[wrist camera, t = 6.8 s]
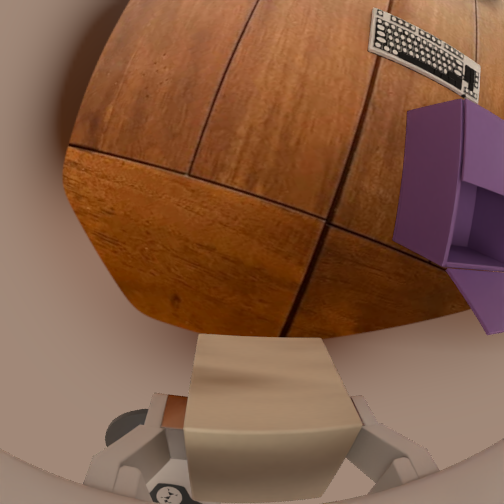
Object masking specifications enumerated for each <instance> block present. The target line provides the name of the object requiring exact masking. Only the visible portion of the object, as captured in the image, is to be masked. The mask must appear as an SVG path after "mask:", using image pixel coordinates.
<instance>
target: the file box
mask: <svg viewBox="0 0 504 504" xmlns="http://www.w3.org/2000/svg"><path fill="white" fill-rule="evenodd" d="M392 240H393V241H394V242H396V243H398V244H400V245H402V246H404V247H406V248H408V249H410V250H412V251H414V252H416V253H418V254H419V255H421V256H423V257H425V258H427V259H429V260H431V261H433V262H434V263H436V264H438V265H440V266H442V267H451V268H464V269H476V270H488V271H502V272H504V120H502V119H501V118H499V117H498V116H496V115H494V114H493V113H491V112H489V111H488V110H486V109H484V108H483V107H481V106H479V105H477V104H476V103H474V102H472V101H470V100H468V99H464V100H463V99H457V100H452V101H447V102H443V103H438V104H434V105H430V106H426V107H422V108H418V109H414V110H410V111H407V126H406V142H405V154H404V164H403V174H402V182H401V190H400V197H399V204H398V211H397V217H396V223H395V229H394V234H393V239H392Z"/></svg>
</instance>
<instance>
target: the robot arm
mask: <svg viewBox="0 0 504 504" xmlns="http://www.w3.org/2000/svg"><path fill="white" fill-rule="evenodd" d="M350 398H351V400H352V402H353V404H354V406H355V408H356V411H357V413H358V415H359V417H360V419H361V421H362V428H361V430H360V431H359V433H358V435H357V437H356V439H355V441H354V443H353V445H352V447H351V449H350V450H349V452H348V454H347V456H346V458H347V459H348V460H349V461H351V462H352V463H353V464H354V465H355V466H357V468H359V469H360V470H361V471H362V472H363V473H364V474H366V475H367V476H368V477H369V478H370V479H372V480H373V481H374V482H375V483H376V484H375V486H374V487H373V488H372V489H371V490H370V492H369V493H368V494H367V495H364V496H359V497H355V498H350V499H345V500H341V501H335V502H329V503H323V504H504V439H502V440H500V441H499V442H497V443H495V444H494V445H492V446H490V447H488V448H486V449H485V450H483V451H481V452H479V453H477V454H475V455H473V456H471V457H470V458H467V459H465V460H463V461H461V462H459V463H457V464H455V465H452V466H450V467H448V468H446V469H443V470H441V471H440V470H439V469H438V467H437V465H436V464H435V462H434V460H433V459H432V457H431V455H430V453H429V452H428V450H427V449H426V448H424V447H422V446H420V445H419V444H417V443H415V442H413V441H412V440H410V439H408V438H406V437H404V436H403V435H401V434H399V433H397V432H395V431H394V430H392V429H390V428H389V427H387V426H385V425H383V424H382V423H379V424H378V423H377V421H376V419H375V417H374V415H373V413H372V411H371V409H370V408H369V406H368V404H367V402H366V400H365V398H364V397H363V396H362V395H359V396H350ZM187 400H188V397H184V396H176V395H167V394H160V393H154V394H153V396H152V399H151V403H150V406H149V409H148V413H147V416H146V420H145V423H144V425H139V426H137V427H136V428H134V429H133V430H132V431H130V432H129V433H127V434H126V435H124V436H123V437H121V438H120V439H119V440H117V441H116V442H114V443H113V444H111V445H110V446H108V447H107V448H105V449H104V450H102V451H101V452H99V453H98V454H96V455H95V456H93V458H92V461H91V464H90V467H89V469H88V472H87V475H86V478H85V480H84V483H83V484H80V483H76V482H74V481H71V480H68V479H65V478H63V477H60V476H57V475H55V474H52V473H50V472H48V471H45V470H43V469H40V468H38V467H36V466H34V465H32V464H29V463H27V462H25V461H23V460H21V459H19V458H17V457H15V456H13V455H11V454H9V453H7V452H6V451H4V450H2V449H0V504H221V502H204V501H194V500H193V499H192V493H191V487H190V480H189V473H188V465H187V457H186V449H185V440H184V431H183V427H184V420H185V413H186V406H187Z"/></svg>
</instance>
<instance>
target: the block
mask: <svg viewBox="0 0 504 504" xmlns="http://www.w3.org/2000/svg"><path fill="white" fill-rule="evenodd" d="M361 428H362V421H361V419H360V417H359V415H358V413H357V411H356V408H355V406H354V404H353V402H352V400H351V398H350V396H349V394H348V392H347V390H346V388H345V385H344V383H343V382H342V379H341V377H340V375H339V373H338V371H337V369H336V367H335V365H334V363H333V361H332V359H331V357H330V355H329V353H328V350H327V348H326V346H325V344H324V342H323V340H322V339H321V338H282V337H251V336H231V335H215V334H199V335H198V341H197V346H196V351H195V358H194V363H193V369H192V375H191V381H190V387H189V394H188V400H187V406H186V413H185V420H184V427H183V431H184V440H185V449H186V457H187V465H188V473H189V480H190V487H191V493H192V499H193V500H194V501H204V502H222V503H262V502H263V503H264V502H282V501H293V500H303V499H311V498H319V497H321V496H322V495H323V493H324V492H325V490H326V489H327V487H328V486H329V484H330V483H331V481H332V479H333V478H334V476H335V475H336V473H337V471H338V470H339V468H340V466H341V464H342V463H343V461H344V459H345V457H346V456H347V454H348V452H349V450H350V449H351V447H352V445H353V443H354V441H355V439H356V437H357V435H358V433H359V431H360V430H361Z"/></svg>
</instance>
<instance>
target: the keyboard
mask: <svg viewBox="0 0 504 504" xmlns="http://www.w3.org/2000/svg"><path fill="white" fill-rule="evenodd" d="M368 51H369V52H372V53H374V54H377V55H379V56H382V57H384V58H387V59H389V60H391V61H394V62H396V63H398V64H401V65H403V66H405V67H407V68H409V69H411V70H414V71H416V72H418V73H420V74H422V75H424V76H426V77H428V78H430V79H432V80H433V81H435V82H437V83H439V84H441V85H443V86H444V87H446V88H448V89H450V90H452V91H453V92H455V93H457V94H458V95H460V96H462V97H463V98H465V99H468V100H470V101H472V102H474V103H476V104H478V99H479V87H480V68H481V66H480V65H478V64H477V63H476V62H474V61H473V60H471V59H470V58H468V57H467V56H465V55H464V54H462V53H461V52H459V51H458V50H456V49H455V48H453V47H451V46H450V45H448V44H447V43H445V42H443V41H442V40H440V39H438V38H436V37H435V36H433V35H431V34H429V33H428V32H426V31H424V30H422V29H420V28H418V27H416V26H414V25H412V24H410V23H408V22H406V21H404V20H402V19H400V18H398V17H396V16H393V15H391V14H389V13H387V12H384V11H382V10H380V9H377V8H375V7H374V8H373V10H372V20H371V29H370V37H369V45H368Z"/></svg>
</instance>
